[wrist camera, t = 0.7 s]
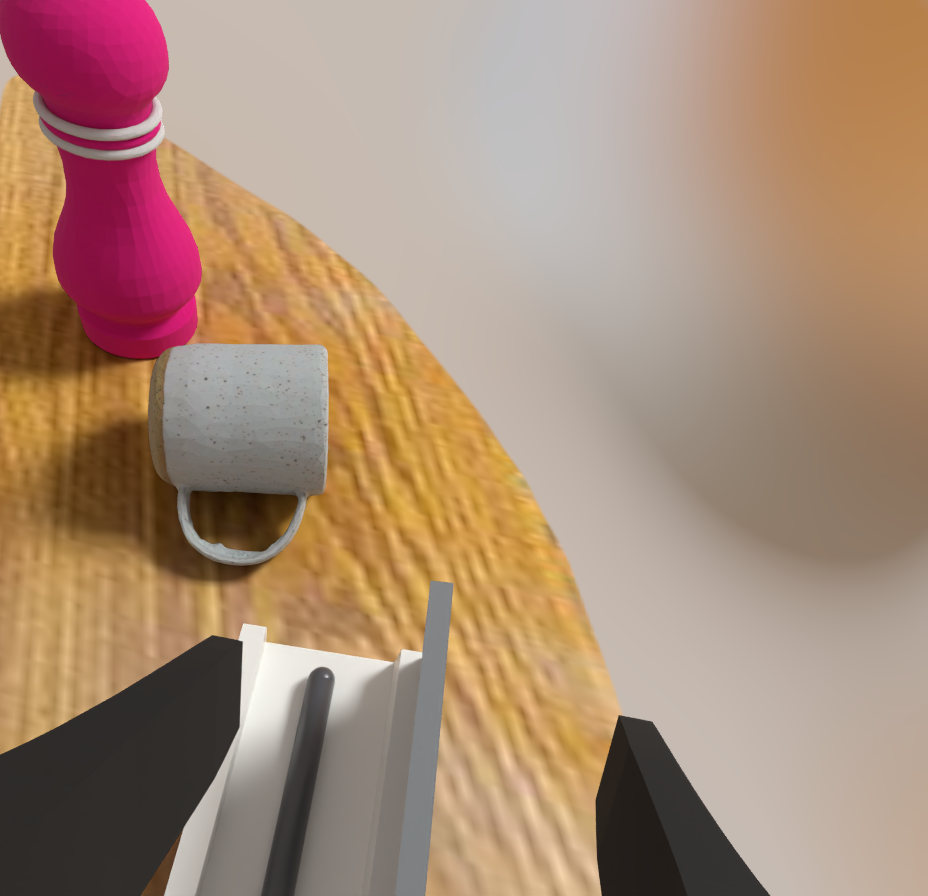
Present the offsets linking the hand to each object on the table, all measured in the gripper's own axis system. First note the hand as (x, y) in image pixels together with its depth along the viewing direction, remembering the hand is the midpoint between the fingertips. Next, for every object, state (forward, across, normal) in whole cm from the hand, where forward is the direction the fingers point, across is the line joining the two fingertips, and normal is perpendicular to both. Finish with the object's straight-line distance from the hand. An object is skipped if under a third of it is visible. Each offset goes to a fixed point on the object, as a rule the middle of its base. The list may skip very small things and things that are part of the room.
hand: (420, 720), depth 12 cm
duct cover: (+7, 0, +10) cm, 12 cm away
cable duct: (+10, +5, +15) cm, 18 cm away
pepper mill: (+27, +22, -1) cm, 35 cm away
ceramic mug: (+21, +12, +6) cm, 25 cm away
